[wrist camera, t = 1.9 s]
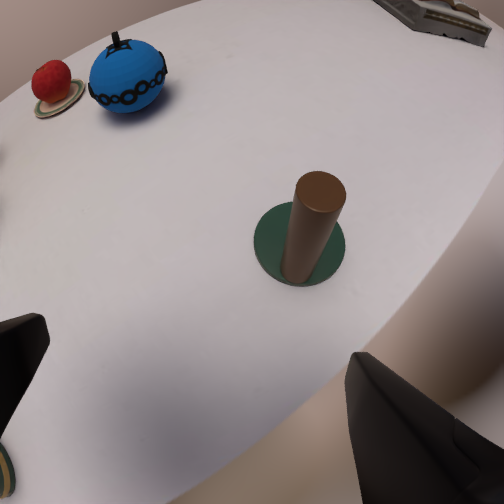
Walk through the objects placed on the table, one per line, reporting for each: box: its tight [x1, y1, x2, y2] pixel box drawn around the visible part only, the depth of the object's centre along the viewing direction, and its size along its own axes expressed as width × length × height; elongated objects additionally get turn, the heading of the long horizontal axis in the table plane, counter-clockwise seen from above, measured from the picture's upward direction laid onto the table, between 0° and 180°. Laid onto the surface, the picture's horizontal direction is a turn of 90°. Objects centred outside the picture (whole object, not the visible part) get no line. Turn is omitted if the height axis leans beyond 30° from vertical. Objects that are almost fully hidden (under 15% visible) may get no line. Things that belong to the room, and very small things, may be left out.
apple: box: [32, 60, 85, 117], centre depth 31 cm, size 8×8×6 cm
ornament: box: [88, 31, 168, 113], centre depth 27 cm, size 9×9×10 cm
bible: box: [374, 0, 492, 47], centre depth 44 cm, size 23×27×10 cm
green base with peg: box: [254, 171, 346, 286], centre depth 20 cm, size 7×7×10 cm
